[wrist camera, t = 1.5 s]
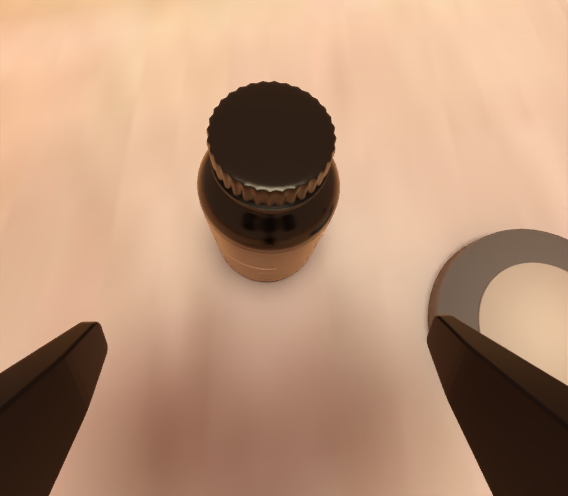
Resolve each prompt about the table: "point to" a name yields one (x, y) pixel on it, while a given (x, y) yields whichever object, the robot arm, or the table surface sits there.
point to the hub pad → (512, 294)
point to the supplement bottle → (268, 178)
